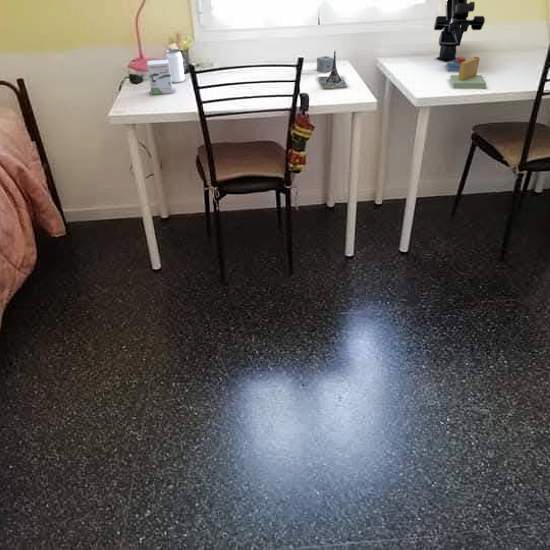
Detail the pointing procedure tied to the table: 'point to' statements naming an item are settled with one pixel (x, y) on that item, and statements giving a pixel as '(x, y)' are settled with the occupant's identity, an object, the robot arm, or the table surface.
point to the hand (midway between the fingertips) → (458, 42)
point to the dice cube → (325, 63)
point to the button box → (453, 66)
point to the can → (175, 65)
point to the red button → (460, 59)
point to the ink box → (159, 76)
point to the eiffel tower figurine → (333, 78)
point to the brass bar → (468, 68)
